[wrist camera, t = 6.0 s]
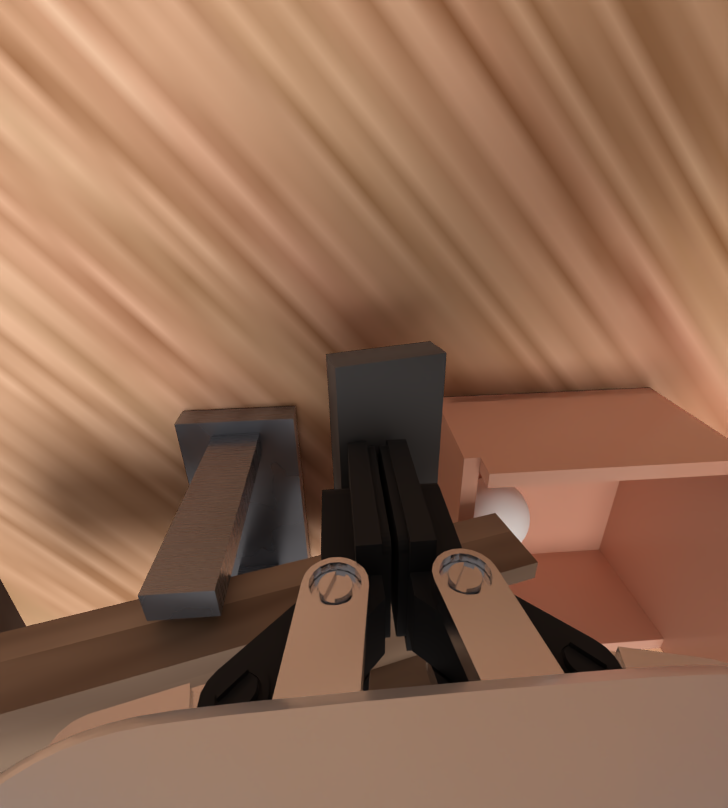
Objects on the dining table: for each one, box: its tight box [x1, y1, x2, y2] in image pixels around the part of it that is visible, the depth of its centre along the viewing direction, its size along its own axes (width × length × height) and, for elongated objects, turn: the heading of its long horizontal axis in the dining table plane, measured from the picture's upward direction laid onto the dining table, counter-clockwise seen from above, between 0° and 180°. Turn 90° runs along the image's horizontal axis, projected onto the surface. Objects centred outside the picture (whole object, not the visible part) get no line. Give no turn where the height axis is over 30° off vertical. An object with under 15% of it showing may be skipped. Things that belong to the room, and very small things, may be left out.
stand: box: [138, 406, 311, 621], centre depth 18 cm, size 10×5×10 cm, turn 1°
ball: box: [474, 478, 530, 542], centre depth 21 cm, size 4×4×4 cm
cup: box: [437, 388, 728, 663], centre depth 19 cm, size 10×10×9 cm
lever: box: [0, 341, 538, 773], centre depth 14 cm, size 13×20×6 cm, turn 91°
